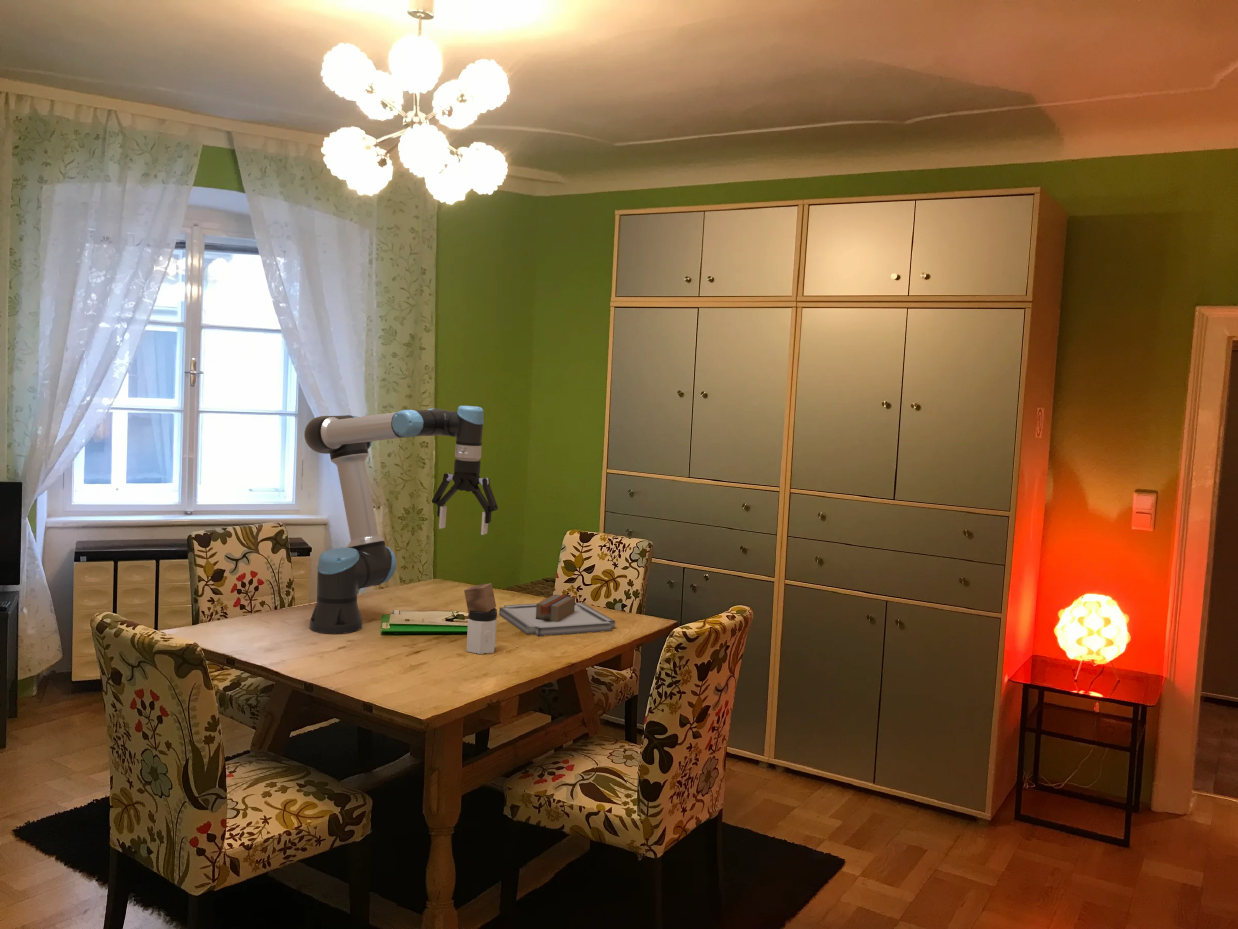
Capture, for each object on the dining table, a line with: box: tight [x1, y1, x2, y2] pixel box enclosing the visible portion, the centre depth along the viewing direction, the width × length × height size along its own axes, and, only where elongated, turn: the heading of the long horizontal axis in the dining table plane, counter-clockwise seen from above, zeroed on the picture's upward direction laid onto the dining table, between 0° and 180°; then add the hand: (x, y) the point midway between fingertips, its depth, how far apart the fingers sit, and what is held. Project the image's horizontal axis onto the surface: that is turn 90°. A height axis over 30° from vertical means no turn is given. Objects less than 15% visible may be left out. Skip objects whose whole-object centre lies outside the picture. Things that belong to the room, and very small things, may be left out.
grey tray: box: [498, 593, 616, 637], centre depth 319 cm, size 30×30×8 cm
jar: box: [466, 607, 498, 655], centre depth 282 cm, size 9×8×12 cm
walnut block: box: [463, 582, 497, 614], centre depth 281 cm, size 6×6×7 cm
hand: (462, 531), depth 289 cm, fingers open, 13 cm apart
